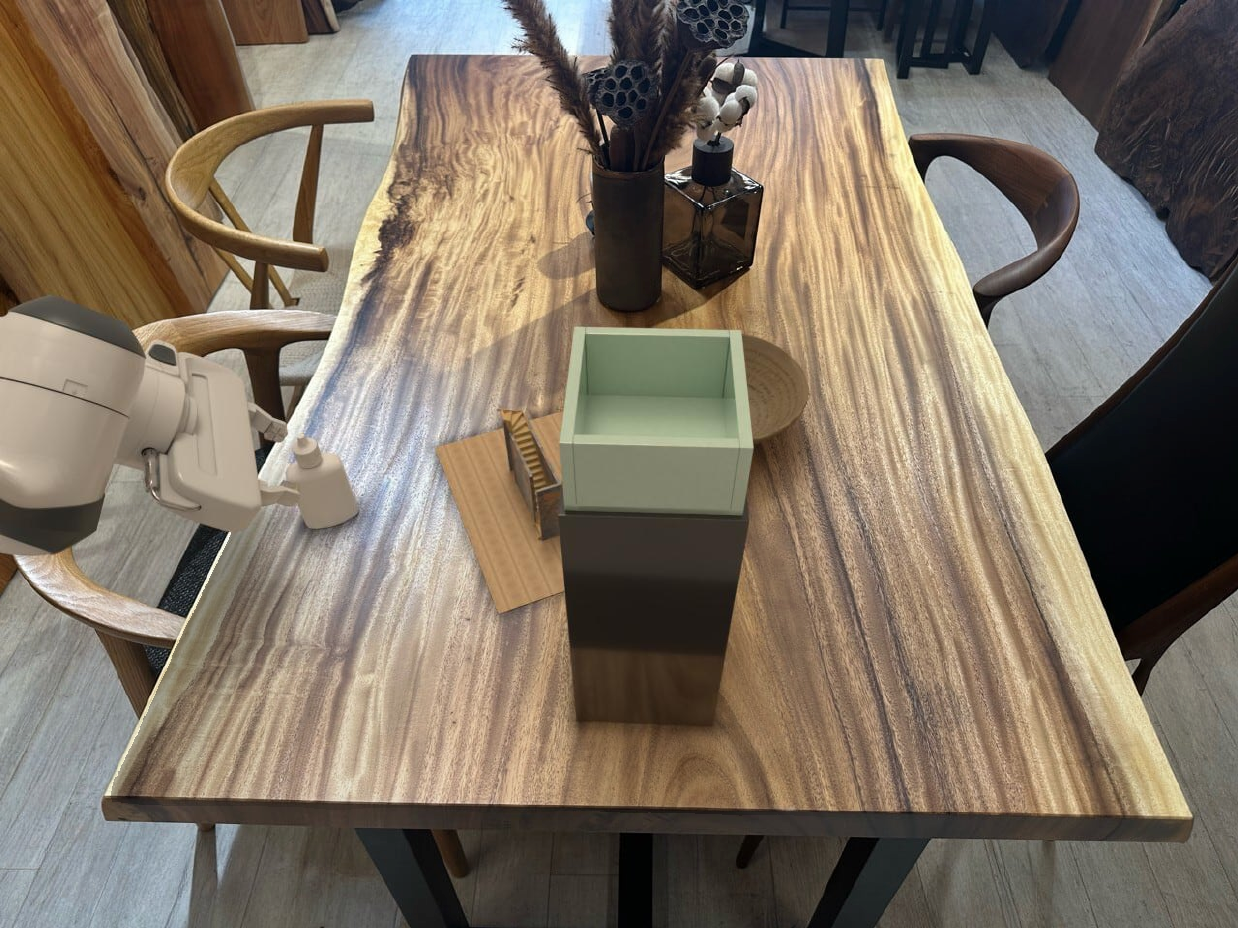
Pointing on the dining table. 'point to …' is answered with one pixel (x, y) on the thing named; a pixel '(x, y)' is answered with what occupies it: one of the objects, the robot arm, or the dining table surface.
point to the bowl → (772, 388)
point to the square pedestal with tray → (652, 518)
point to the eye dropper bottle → (321, 485)
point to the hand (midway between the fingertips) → (290, 463)
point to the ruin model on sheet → (532, 470)
